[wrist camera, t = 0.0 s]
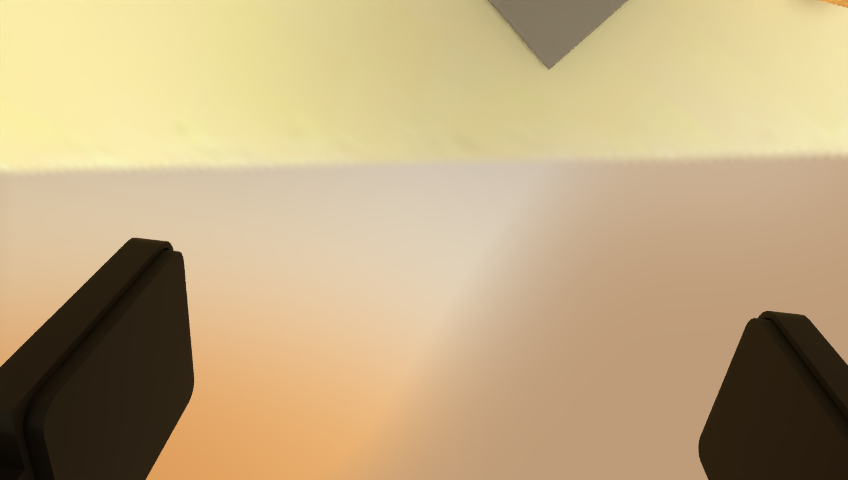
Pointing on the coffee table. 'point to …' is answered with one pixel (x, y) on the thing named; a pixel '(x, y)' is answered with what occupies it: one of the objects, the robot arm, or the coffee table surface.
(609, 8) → the grey oblong slab
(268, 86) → the coffee table surface
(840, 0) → the orange cube
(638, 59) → the coffee table surface
